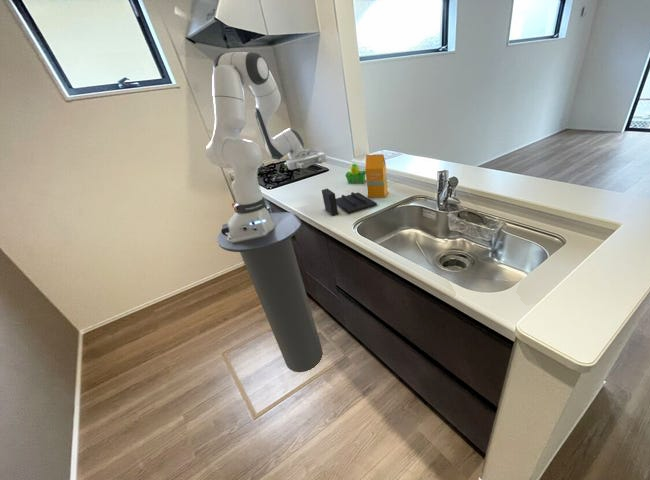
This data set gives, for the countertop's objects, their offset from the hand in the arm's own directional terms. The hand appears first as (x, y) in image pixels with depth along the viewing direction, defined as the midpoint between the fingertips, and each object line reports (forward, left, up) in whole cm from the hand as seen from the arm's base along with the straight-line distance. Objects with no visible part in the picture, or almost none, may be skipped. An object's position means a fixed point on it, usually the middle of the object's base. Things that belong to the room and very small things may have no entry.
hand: (311, 163), depth 143 cm
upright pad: (0, -17, -19) cm, 26 cm away
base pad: (+13, -15, -19) cm, 28 cm away
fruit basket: (+29, +14, -19) cm, 38 cm away
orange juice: (+28, -13, -19) cm, 36 cm away
